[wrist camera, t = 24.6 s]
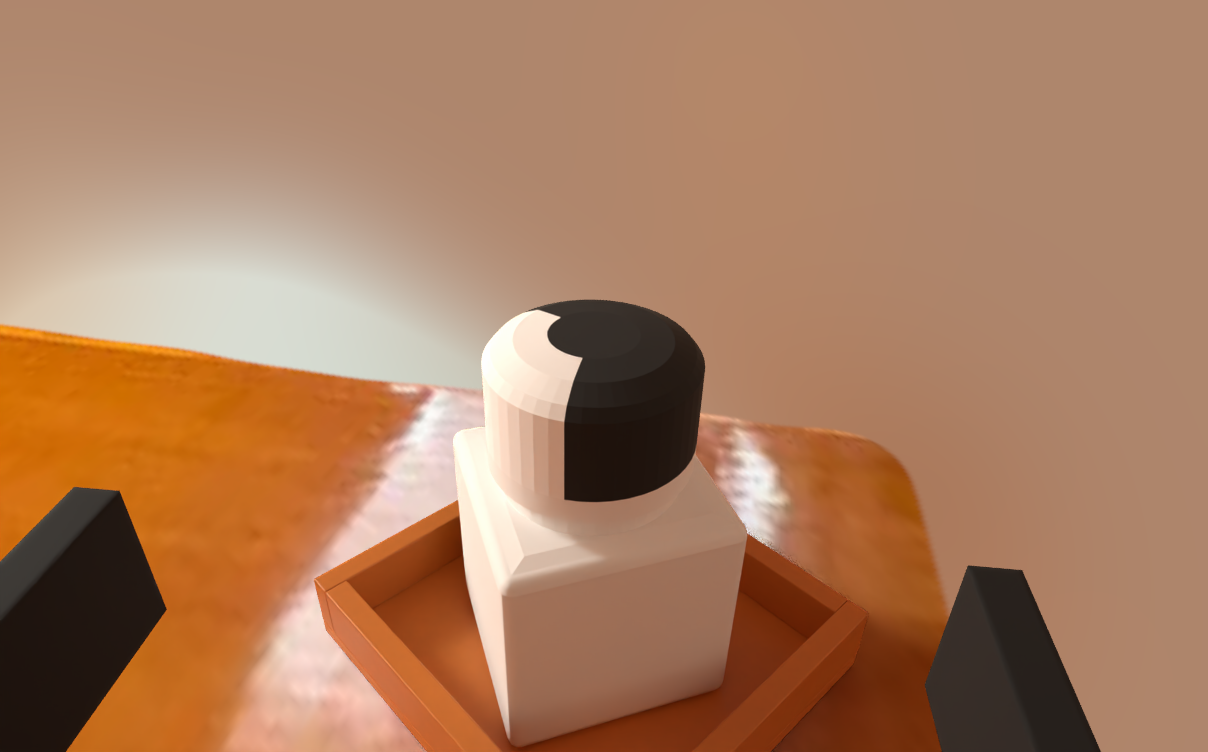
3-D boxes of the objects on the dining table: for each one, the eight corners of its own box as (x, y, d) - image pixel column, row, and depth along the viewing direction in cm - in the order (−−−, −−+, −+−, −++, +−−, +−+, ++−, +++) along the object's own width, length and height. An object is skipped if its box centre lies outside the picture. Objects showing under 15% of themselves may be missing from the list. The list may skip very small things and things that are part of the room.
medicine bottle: (645, 541, 32) (666, 262, 26) (726, 691, 27) (778, 384, 20) (464, 583, 30) (437, 291, 24) (510, 755, 25) (491, 435, 18)
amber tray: (854, 664, 28) (869, 612, 27) (587, 946, 21) (589, 896, 19) (586, 474, 36) (587, 427, 35) (325, 630, 29) (312, 578, 28)
